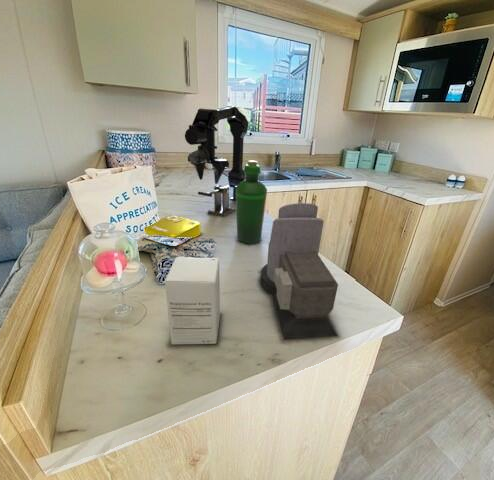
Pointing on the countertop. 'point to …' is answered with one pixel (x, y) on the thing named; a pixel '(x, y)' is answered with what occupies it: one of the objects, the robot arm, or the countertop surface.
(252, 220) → the bottle
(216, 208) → the tap bracket
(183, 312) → the white product box
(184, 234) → the element tile
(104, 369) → the countertop surface
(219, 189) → the tap lever
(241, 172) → the robot arm
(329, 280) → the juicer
